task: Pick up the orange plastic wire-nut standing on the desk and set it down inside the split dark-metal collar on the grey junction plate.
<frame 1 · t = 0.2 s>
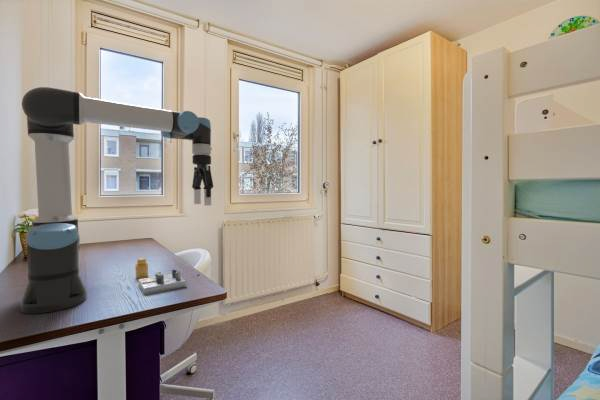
hand: (202, 204, 126), 27 cm above the table, fingers open, 13 cm apart
wire nut: (142, 277, 114), on the table
junction plate: (162, 285, 103), on the table
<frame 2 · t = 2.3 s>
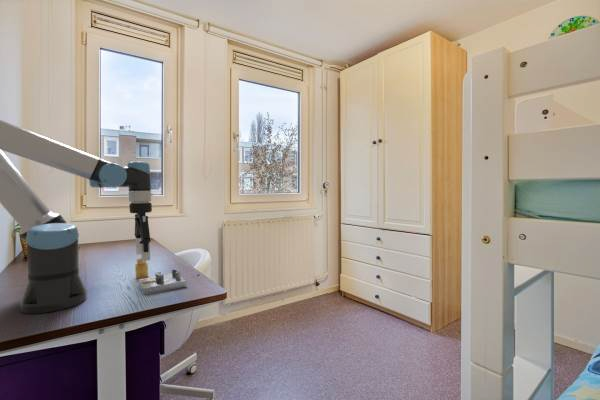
hand: (142, 257, 114), 8 cm above the table, fingers open, 13 cm apart
nothing on the table moved.
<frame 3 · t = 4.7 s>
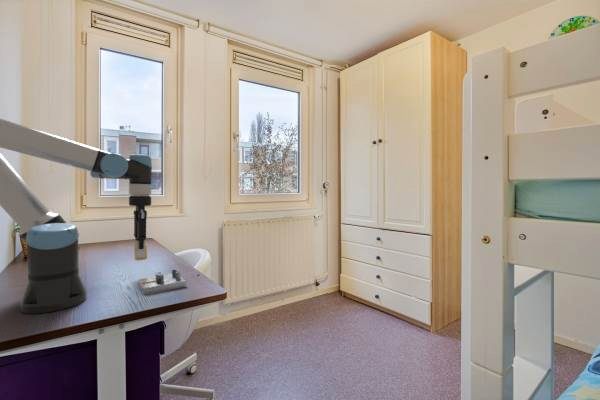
hand: (139, 256, 113), 8 cm above the table, fingers closed on wire nut, 4 cm apart
wire nut: (140, 258, 113), point 7 cm above the table, touching gripper
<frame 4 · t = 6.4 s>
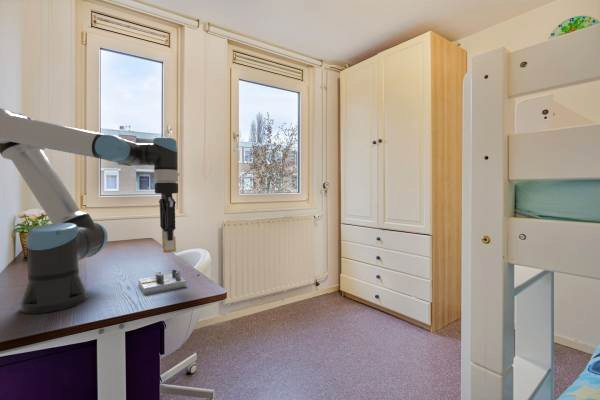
hand: (168, 248, 104), 13 cm above the table, fingers closed on wire nut, 4 cm apart
wire nut: (169, 251, 104), point 12 cm above the table, touching gripper
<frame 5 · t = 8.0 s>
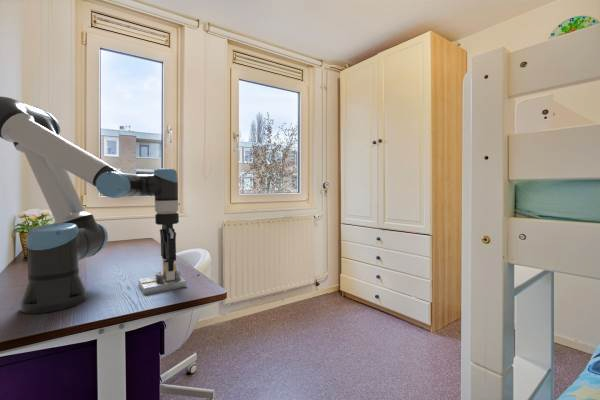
hand: (168, 278, 105), 2 cm above the table, fingers closed on junction plate, wire nut, 4 cm apart
wire nut: (170, 278, 105), point 2 cm above the table, touching gripper, junction plate
when the fingers open (2 cm above the table, at t = 8.5 s): wire nut stays where it is, resting on junction plate.
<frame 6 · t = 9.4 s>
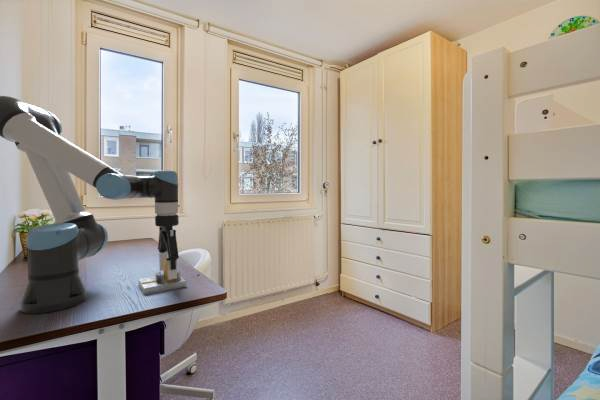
hand: (167, 274, 104), 4 cm above the table, fingers open, 13 cm apart
wire nut: (170, 278, 105), point 2 cm above the table, touching junction plate
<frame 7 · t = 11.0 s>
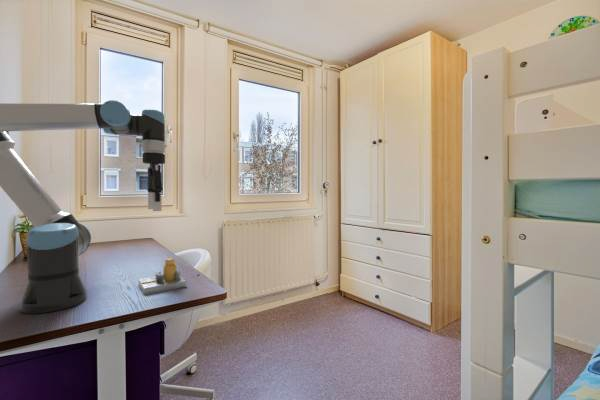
hand: (154, 210, 110), 26 cm above the table, fingers open, 13 cm apart
nothing on the table moved.
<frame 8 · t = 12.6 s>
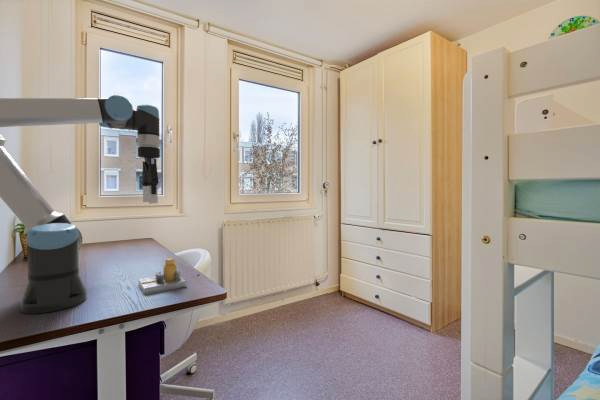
hand: (150, 202, 113), 29 cm above the table, fingers open, 13 cm apart
nothing on the table moved.
at the end: wire nut 2.7 cm from the junction plate (horizontally); wire nut 0.6 cm from the target spot, point 2.0 cm above the table; wire nut tilted 0° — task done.
